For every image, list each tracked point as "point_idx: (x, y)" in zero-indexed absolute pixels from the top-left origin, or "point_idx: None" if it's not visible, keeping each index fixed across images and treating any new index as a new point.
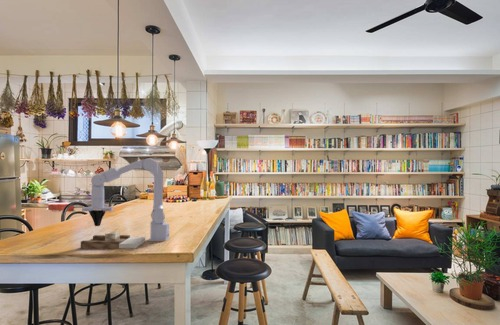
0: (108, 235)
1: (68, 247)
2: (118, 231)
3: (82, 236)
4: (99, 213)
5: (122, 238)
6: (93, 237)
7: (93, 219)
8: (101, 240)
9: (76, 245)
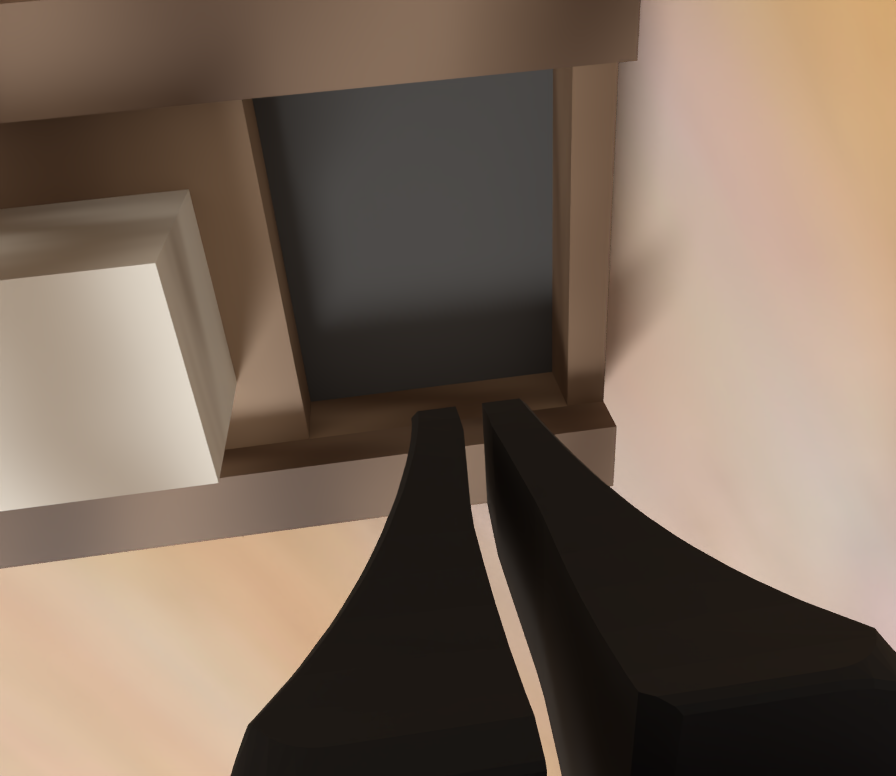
0: (74, 256)
1: (878, 32)
2: (6, 509)
3: (890, 615)
4: (288, 742)
5: None
6: (598, 412)
7: (610, 509)
8: (440, 400)
9: (785, 180)
